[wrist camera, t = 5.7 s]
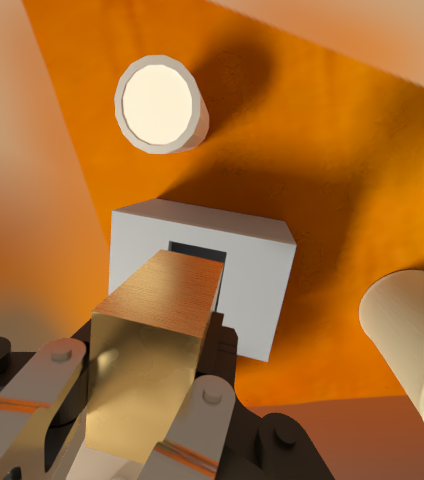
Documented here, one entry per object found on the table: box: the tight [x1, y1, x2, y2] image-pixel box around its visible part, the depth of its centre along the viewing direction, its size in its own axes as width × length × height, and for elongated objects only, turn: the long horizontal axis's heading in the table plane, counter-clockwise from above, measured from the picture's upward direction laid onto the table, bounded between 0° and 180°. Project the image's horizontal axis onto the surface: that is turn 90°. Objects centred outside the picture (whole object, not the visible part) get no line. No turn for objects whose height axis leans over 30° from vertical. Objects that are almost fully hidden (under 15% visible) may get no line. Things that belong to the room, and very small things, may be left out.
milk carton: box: [66, 437, 145, 480], centre depth 25 cm, size 7×7×19 cm
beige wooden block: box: [85, 249, 224, 464], centre depth 10 cm, size 3×5×6 cm, turn 170°
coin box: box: [109, 198, 297, 362], centre depth 25 cm, size 14×10×9 cm
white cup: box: [114, 55, 209, 154], centre depth 23 cm, size 7×7×7 cm
